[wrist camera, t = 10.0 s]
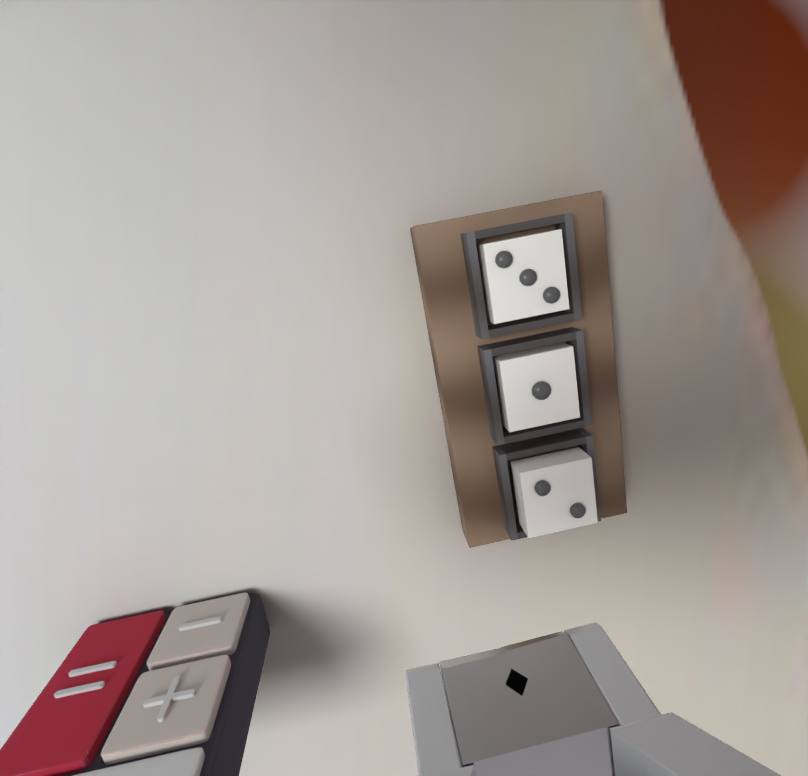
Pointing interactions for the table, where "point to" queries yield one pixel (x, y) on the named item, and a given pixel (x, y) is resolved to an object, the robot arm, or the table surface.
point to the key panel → (480, 340)
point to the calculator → (149, 696)
